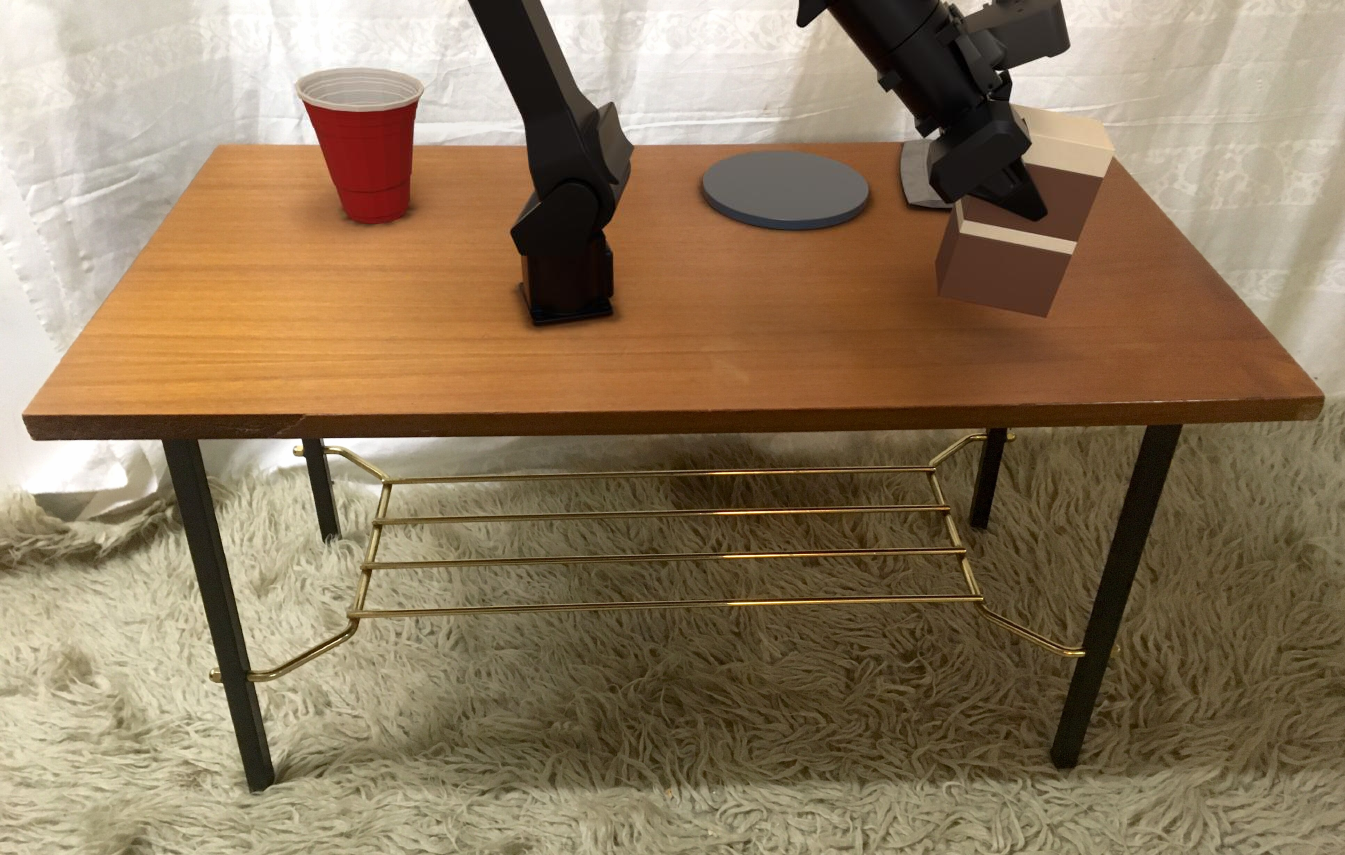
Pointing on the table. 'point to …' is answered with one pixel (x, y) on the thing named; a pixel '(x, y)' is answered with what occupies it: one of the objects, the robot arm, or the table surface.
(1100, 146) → the cake slice
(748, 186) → the plate
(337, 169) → the plastic cup
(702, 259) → the table surface
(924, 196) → the cleaver
